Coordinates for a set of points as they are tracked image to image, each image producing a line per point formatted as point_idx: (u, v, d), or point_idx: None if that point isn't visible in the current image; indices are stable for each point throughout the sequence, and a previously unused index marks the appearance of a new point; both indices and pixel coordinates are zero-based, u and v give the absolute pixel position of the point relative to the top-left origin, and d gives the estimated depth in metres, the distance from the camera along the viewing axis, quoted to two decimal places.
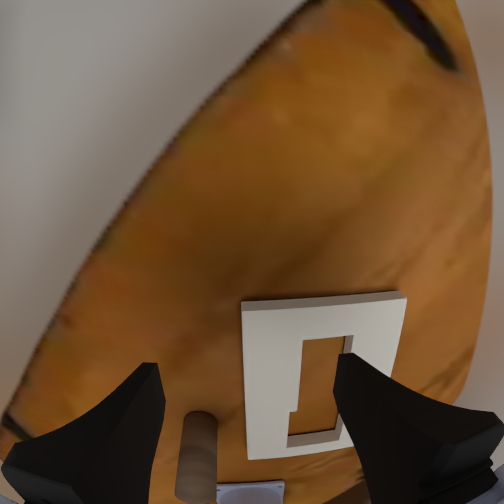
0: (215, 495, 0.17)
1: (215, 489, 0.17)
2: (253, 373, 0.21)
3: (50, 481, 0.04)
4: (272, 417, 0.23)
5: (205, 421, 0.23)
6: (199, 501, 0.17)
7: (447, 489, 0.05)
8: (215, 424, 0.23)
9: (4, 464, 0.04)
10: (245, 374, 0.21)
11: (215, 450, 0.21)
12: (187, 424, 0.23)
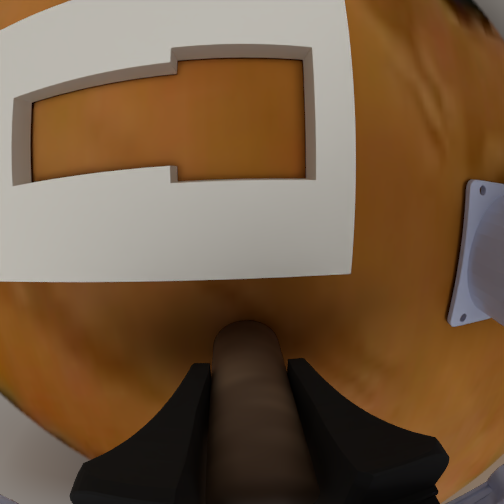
0: (259, 476, 0.06)
1: (248, 462, 0.06)
2: (69, 265, 0.11)
3: (146, 502, 0.04)
4: (187, 221, 0.11)
5: (215, 350, 0.13)
6: (297, 495, 0.06)
7: None
8: (233, 330, 0.13)
9: (78, 490, 0.04)
10: (73, 279, 0.11)
11: (238, 371, 0.10)
12: None
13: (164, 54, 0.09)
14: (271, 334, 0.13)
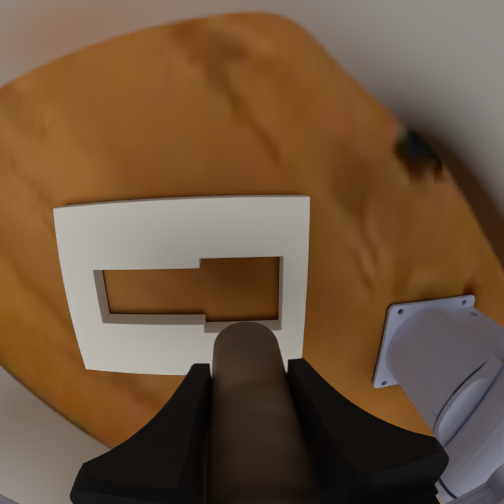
0: (259, 480, 0.06)
1: (248, 466, 0.06)
2: (145, 366, 0.20)
3: (146, 502, 0.04)
4: None
5: (215, 352, 0.13)
6: (296, 497, 0.06)
7: None
8: (233, 331, 0.13)
9: (78, 490, 0.04)
10: (148, 372, 0.20)
11: (238, 374, 0.10)
12: None
13: (195, 262, 0.18)
14: (271, 335, 0.13)
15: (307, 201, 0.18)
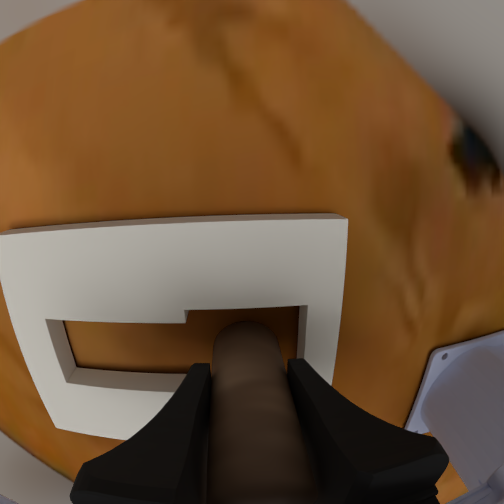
0: (259, 479, 0.06)
1: (248, 466, 0.06)
2: (125, 432, 0.14)
3: (146, 502, 0.04)
4: None
5: (215, 351, 0.13)
6: (296, 497, 0.06)
7: None
8: (233, 331, 0.13)
9: (78, 490, 0.04)
10: None
11: (238, 374, 0.10)
12: None
13: (178, 315, 0.12)
14: (271, 335, 0.13)
15: (344, 225, 0.12)
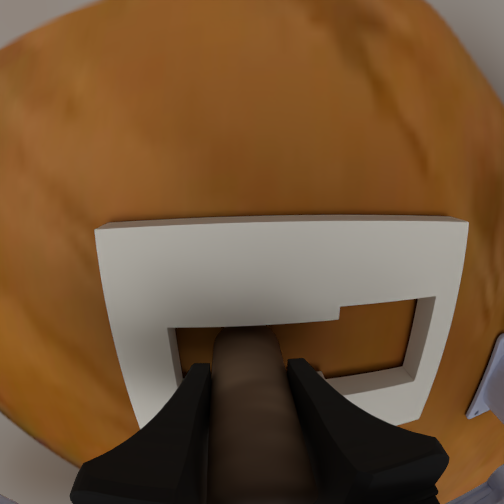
0: (259, 479, 0.06)
1: (248, 466, 0.06)
2: None
3: (145, 502, 0.04)
4: None
5: (215, 351, 0.13)
6: (296, 497, 0.06)
7: None
8: (233, 331, 0.13)
9: (78, 490, 0.04)
10: None
11: (238, 374, 0.10)
12: None
13: (334, 312, 0.12)
14: (271, 335, 0.13)
15: (466, 227, 0.12)
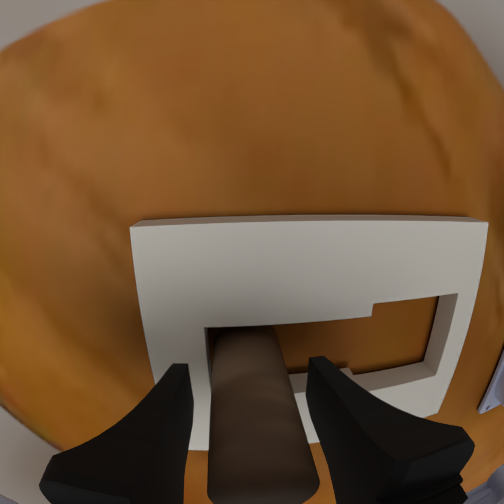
0: (260, 465, 0.06)
1: (249, 452, 0.06)
2: None
3: (103, 495, 0.04)
4: None
5: (215, 347, 0.13)
6: (298, 486, 0.06)
7: None
8: (233, 327, 0.13)
9: (44, 480, 0.04)
10: None
11: (238, 366, 0.10)
12: None
13: (367, 309, 0.12)
14: (270, 331, 0.13)
15: (486, 227, 0.12)
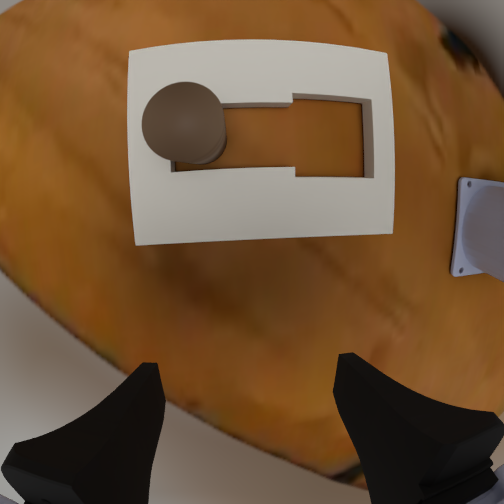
0: (178, 83, 0.10)
1: None
2: (219, 229, 0.18)
3: (50, 481, 0.04)
4: (304, 200, 0.18)
5: None
6: (207, 113, 0.10)
7: (447, 489, 0.05)
8: None
9: (4, 464, 0.04)
10: (221, 239, 0.18)
11: None
12: None
13: (288, 96, 0.16)
14: None
15: (385, 56, 0.15)
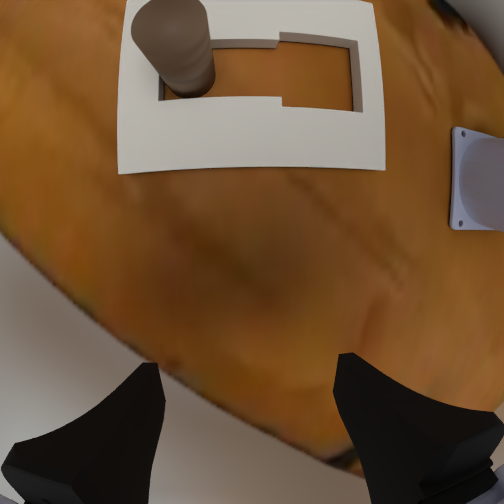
0: None
1: None
2: (203, 156, 0.17)
3: (50, 481, 0.04)
4: (291, 129, 0.17)
5: None
6: (191, 15, 0.09)
7: (447, 489, 0.05)
8: None
9: (4, 464, 0.04)
10: (205, 166, 0.17)
11: None
12: (168, 86, 0.16)
13: (275, 34, 0.15)
14: None
15: (370, 5, 0.14)
